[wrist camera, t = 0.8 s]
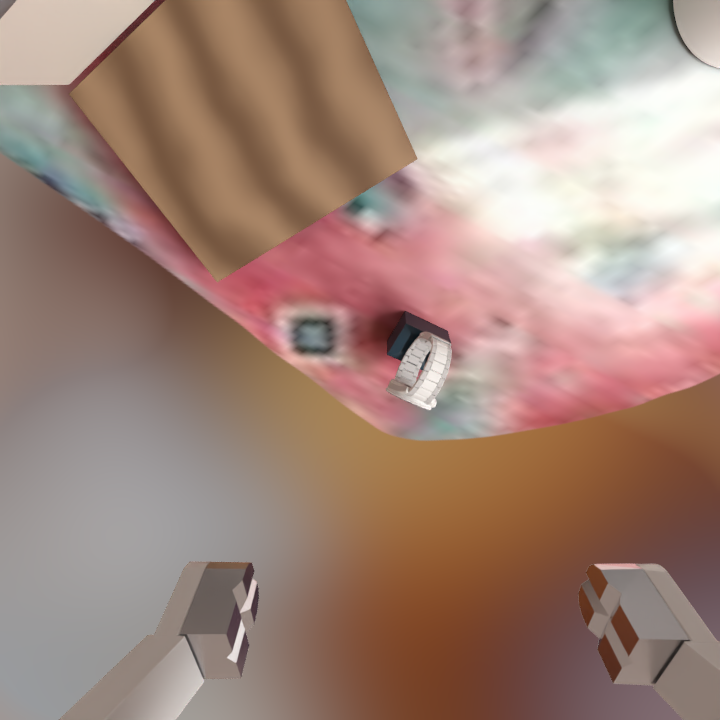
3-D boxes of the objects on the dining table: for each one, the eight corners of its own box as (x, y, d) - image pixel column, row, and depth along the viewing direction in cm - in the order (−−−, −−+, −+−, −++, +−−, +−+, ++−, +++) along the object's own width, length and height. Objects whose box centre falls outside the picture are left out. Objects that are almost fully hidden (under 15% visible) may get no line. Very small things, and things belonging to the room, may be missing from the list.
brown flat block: (303, -93, 28) (290, -123, 24) (414, 155, 35) (417, 159, 32) (100, 96, 34) (68, 94, 31) (231, 269, 42) (217, 282, 39)
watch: (379, 353, 47) (377, 412, 37) (412, 297, 43) (419, 347, 33) (420, 371, 48) (428, 433, 38) (456, 318, 44) (475, 373, 34)
